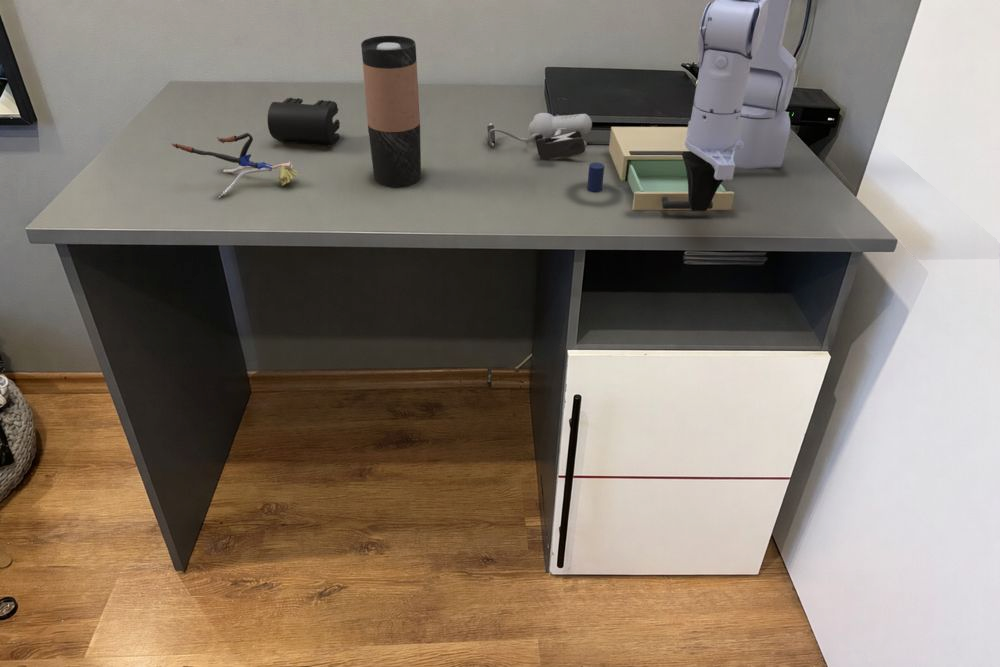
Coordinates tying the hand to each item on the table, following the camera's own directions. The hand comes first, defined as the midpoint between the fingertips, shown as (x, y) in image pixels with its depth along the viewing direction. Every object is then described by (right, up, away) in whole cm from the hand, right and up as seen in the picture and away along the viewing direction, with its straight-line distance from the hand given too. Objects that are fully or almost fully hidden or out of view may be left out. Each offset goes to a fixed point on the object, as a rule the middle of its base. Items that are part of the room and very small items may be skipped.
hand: (698, 208), depth 99 cm
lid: (-12, +4, +13) cm, 18 cm away
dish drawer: (-1, +10, +21) cm, 23 cm away
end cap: (-58, +15, +27) cm, 66 cm away
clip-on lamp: (-20, +14, +27) cm, 36 cm away
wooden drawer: (0, +3, +12) cm, 12 cm away
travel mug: (-42, +7, +17) cm, 46 cm away
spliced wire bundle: (-64, +5, +13) cm, 65 cm away
